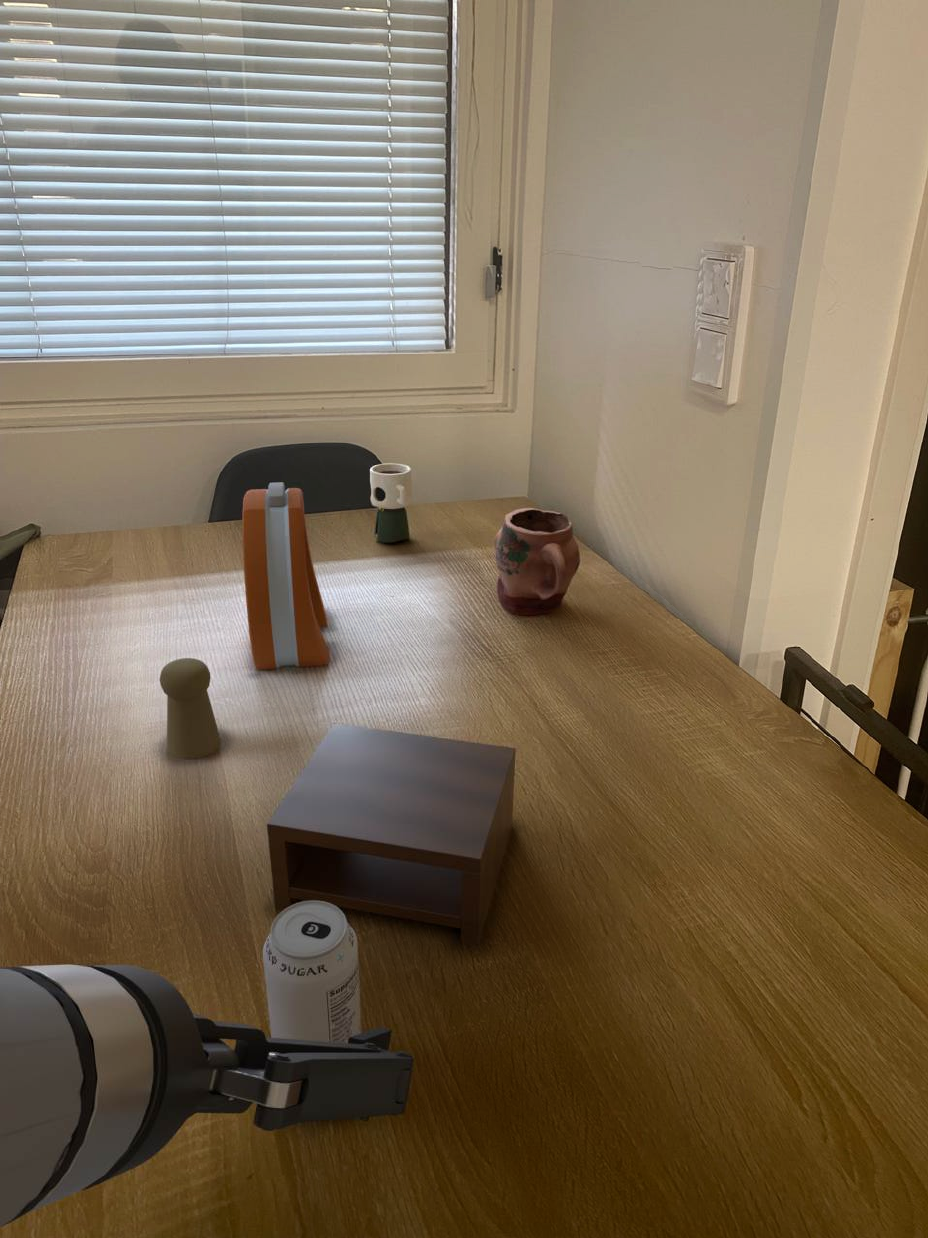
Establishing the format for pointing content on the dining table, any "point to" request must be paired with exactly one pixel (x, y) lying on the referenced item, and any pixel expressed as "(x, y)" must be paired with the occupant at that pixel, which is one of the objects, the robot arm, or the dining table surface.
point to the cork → (189, 709)
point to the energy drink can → (312, 974)
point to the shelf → (396, 827)
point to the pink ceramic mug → (535, 560)
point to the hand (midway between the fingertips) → (268, 1030)
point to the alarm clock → (281, 581)
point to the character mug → (391, 500)
